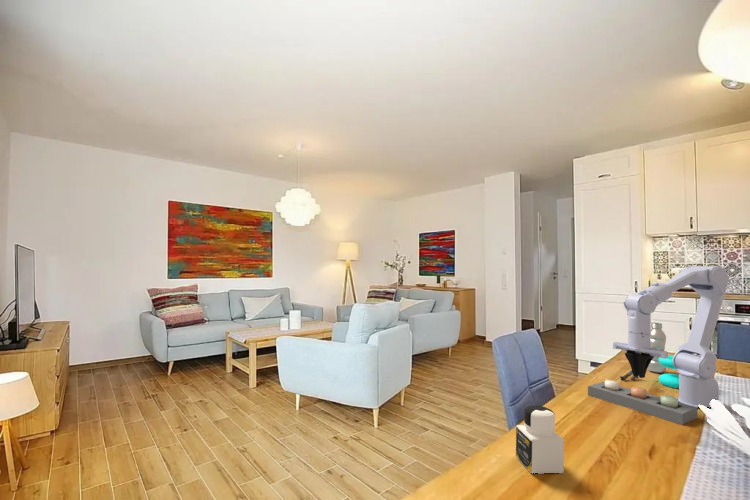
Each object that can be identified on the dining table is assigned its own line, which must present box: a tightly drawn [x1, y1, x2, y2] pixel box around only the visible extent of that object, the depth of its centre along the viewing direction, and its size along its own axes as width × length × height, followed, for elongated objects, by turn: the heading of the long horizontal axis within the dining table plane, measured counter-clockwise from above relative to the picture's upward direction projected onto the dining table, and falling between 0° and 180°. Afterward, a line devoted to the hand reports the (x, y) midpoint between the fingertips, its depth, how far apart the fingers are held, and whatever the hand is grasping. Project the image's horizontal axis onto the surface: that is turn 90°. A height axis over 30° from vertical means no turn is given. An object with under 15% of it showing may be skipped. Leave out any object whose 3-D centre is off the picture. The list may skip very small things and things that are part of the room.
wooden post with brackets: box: [619, 369, 639, 382], centre depth 145 cm, size 2×8×4 cm, turn 108°
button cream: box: [604, 379, 620, 392], centre depth 125 cm, size 4×4×3 cm
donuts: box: [658, 355, 679, 390], centre depth 140 cm, size 10×10×10 cm
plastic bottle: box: [647, 322, 667, 374], centre depth 157 cm, size 6×7×20 cm
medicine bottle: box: [515, 405, 565, 475], centre depth 82 cm, size 7×7×12 cm
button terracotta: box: [630, 386, 648, 400], centre depth 118 cm, size 4×4×3 cm
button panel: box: [587, 381, 699, 426], centre depth 118 cm, size 26×10×3 cm, turn 31°
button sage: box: [660, 394, 678, 409], centre depth 112 cm, size 4×4×3 cm
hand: (638, 376), depth 119 cm, fingers closed
